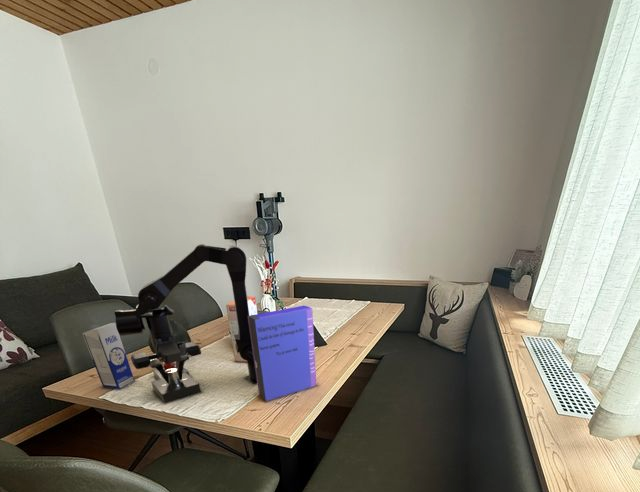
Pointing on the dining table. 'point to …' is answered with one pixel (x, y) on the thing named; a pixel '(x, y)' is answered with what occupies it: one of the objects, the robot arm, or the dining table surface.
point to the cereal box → (283, 351)
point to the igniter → (168, 365)
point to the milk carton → (108, 356)
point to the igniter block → (159, 376)
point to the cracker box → (234, 323)
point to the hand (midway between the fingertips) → (174, 381)
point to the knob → (172, 376)
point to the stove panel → (176, 388)
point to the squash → (174, 334)
